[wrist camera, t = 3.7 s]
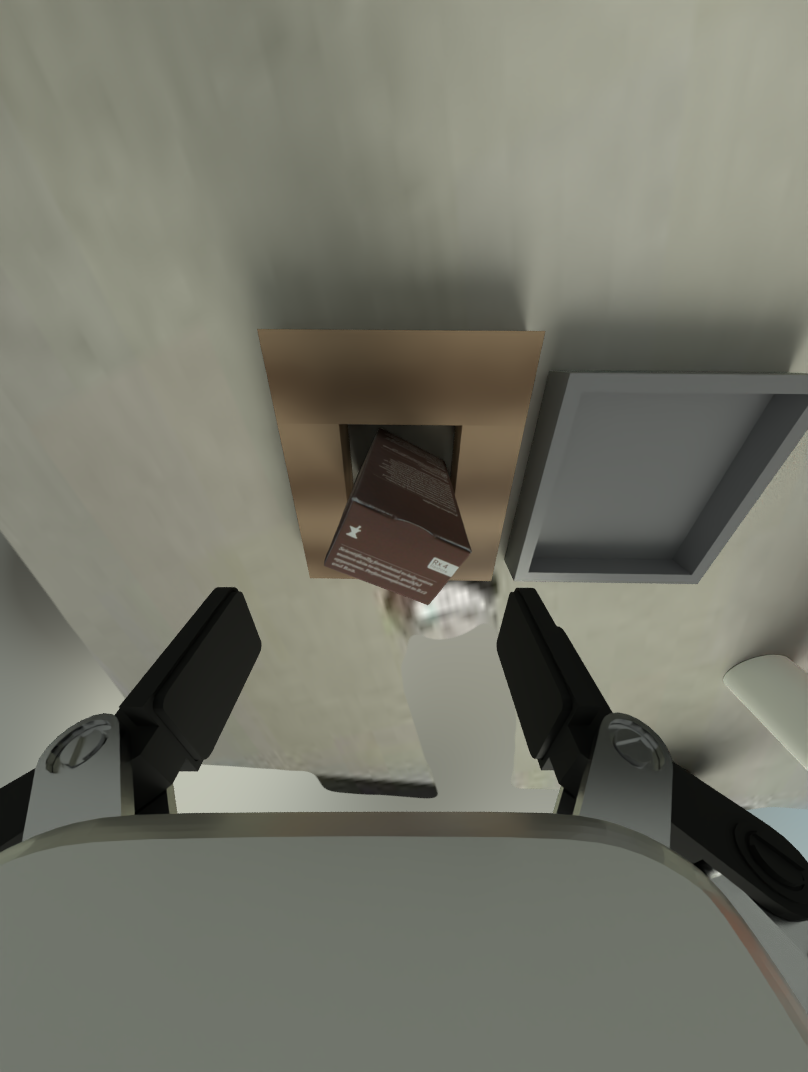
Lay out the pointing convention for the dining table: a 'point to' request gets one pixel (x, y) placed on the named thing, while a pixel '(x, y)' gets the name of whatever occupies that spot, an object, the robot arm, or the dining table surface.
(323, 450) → the socket board
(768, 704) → the cylindrical container
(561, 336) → the dining table surface
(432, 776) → the dining table surface
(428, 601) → the box
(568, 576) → the tray
